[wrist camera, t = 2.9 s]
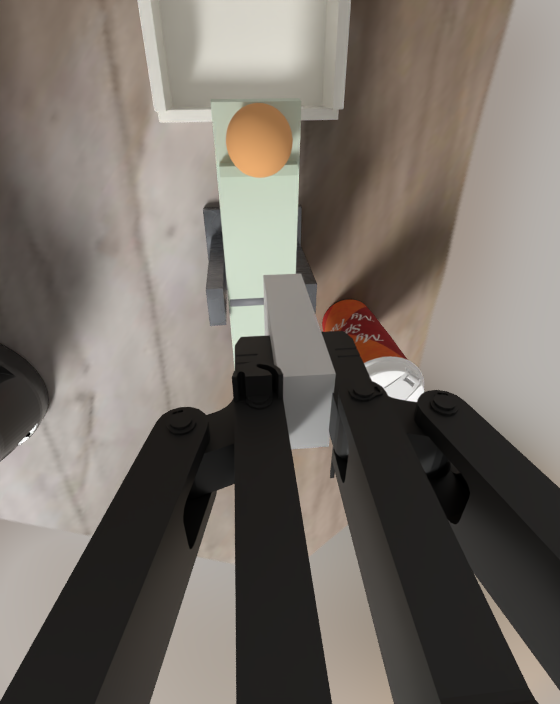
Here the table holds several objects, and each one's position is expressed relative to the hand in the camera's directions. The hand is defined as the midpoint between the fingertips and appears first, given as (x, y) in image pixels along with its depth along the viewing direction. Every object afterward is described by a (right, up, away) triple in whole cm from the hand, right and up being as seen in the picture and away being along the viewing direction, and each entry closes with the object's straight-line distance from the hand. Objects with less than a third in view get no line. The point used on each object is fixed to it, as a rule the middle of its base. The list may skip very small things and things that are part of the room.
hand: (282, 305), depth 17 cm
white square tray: (-3, +23, +13) cm, 27 cm away
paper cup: (+7, +2, +30) cm, 31 cm away
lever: (-2, +8, +18) cm, 20 cm away
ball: (-1, +9, +5) cm, 11 cm away
